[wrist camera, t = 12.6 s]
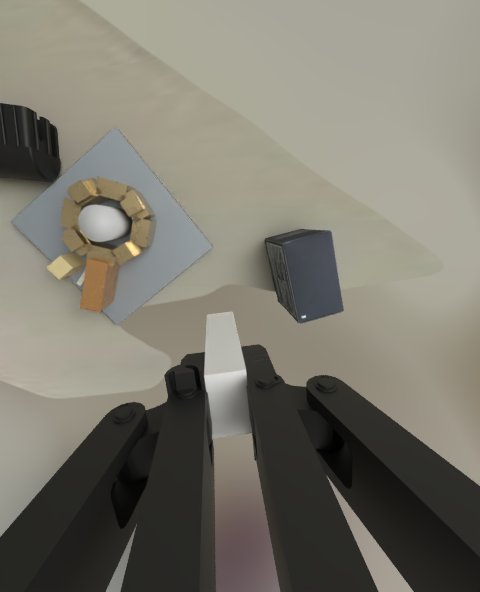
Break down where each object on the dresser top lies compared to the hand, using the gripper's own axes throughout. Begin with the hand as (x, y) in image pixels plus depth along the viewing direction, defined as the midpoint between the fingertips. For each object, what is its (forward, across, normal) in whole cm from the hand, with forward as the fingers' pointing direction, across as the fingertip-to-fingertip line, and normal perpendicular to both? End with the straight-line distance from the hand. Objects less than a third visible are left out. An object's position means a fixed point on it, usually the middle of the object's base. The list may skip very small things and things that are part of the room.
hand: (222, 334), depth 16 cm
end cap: (+27, -23, +17) cm, 39 cm away
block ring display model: (+26, -13, +6) cm, 30 cm away
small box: (+27, +12, -1) cm, 29 cm away
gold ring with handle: (+25, -14, +5) cm, 28 cm away
